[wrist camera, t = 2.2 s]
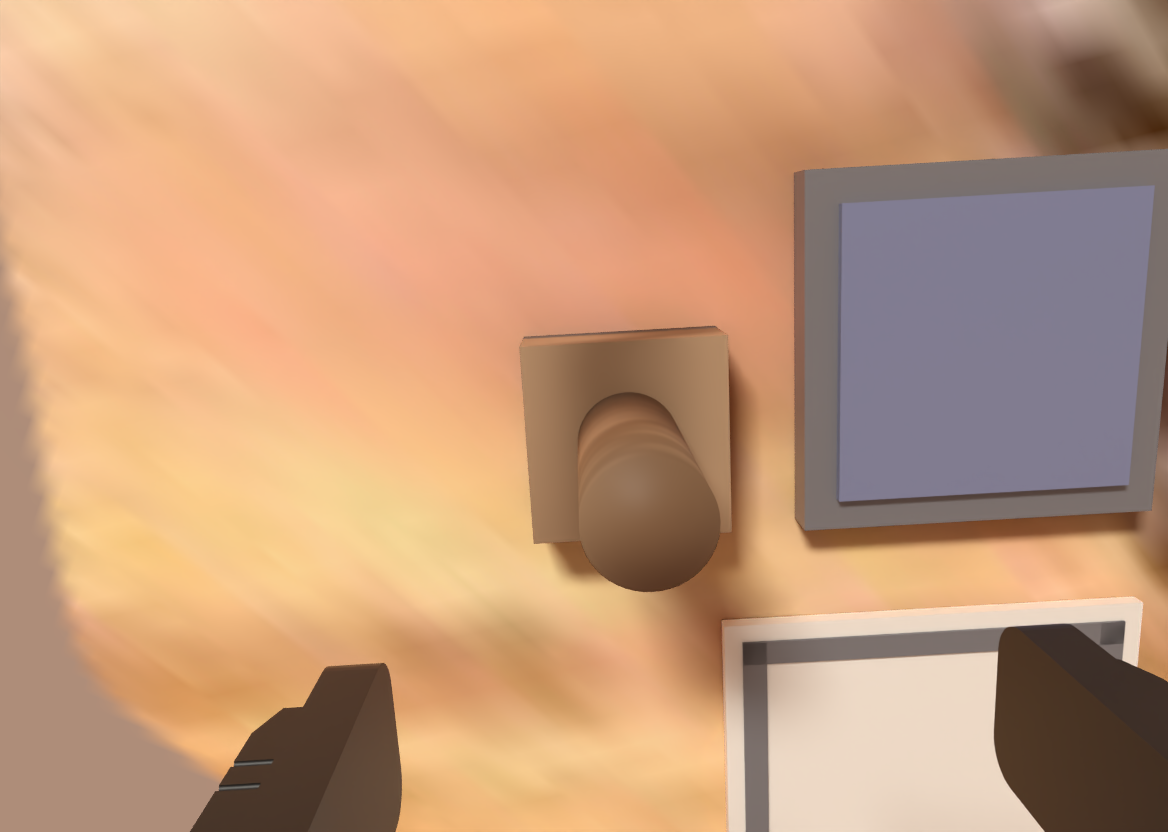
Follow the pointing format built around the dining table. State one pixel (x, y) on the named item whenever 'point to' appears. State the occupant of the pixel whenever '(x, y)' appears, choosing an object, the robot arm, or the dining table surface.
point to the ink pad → (979, 338)
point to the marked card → (882, 715)
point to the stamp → (630, 448)
